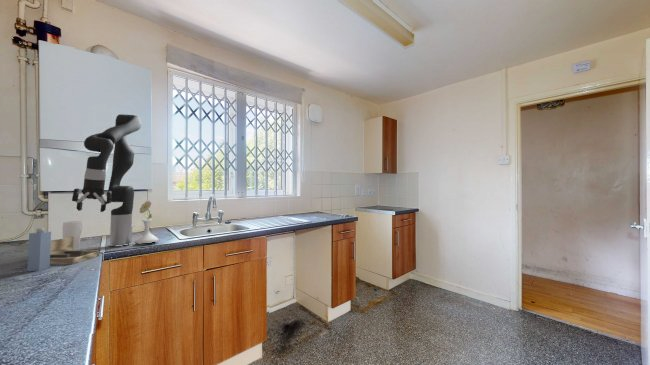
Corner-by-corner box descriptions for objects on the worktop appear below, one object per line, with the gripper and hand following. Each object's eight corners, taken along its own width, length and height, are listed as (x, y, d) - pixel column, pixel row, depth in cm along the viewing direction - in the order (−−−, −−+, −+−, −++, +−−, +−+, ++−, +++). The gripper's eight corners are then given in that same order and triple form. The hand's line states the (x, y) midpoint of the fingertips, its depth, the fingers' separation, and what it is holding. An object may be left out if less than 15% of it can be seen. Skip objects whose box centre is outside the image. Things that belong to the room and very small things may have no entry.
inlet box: (70, 256, 116) (71, 236, 117) (98, 255, 118) (99, 236, 118) (39, 265, 103) (40, 242, 103) (72, 264, 104) (73, 242, 104)
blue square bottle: (38, 267, 99) (40, 227, 100) (49, 267, 99) (51, 227, 100) (27, 271, 95) (29, 229, 96) (39, 270, 95) (41, 229, 96)
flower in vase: (133, 243, 146) (134, 200, 147) (156, 241, 154) (157, 200, 155) (135, 247, 137) (137, 200, 138) (160, 244, 144) (161, 200, 145)
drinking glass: (66, 251, 126) (67, 221, 126) (83, 250, 128) (85, 220, 129) (57, 254, 119) (59, 222, 120) (76, 253, 122) (77, 222, 122)
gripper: (116, 179, 129) (112, 210, 130) (79, 175, 124) (75, 208, 124) (110, 180, 123) (106, 213, 123) (71, 176, 117) (67, 211, 117)
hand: (91, 211), depth 124 cm, fingers open, 8 cm apart
